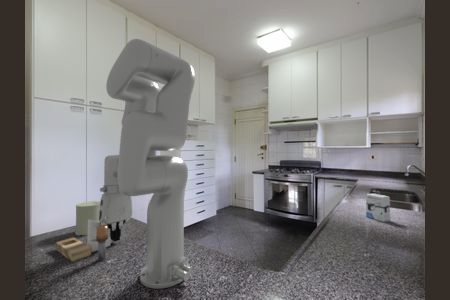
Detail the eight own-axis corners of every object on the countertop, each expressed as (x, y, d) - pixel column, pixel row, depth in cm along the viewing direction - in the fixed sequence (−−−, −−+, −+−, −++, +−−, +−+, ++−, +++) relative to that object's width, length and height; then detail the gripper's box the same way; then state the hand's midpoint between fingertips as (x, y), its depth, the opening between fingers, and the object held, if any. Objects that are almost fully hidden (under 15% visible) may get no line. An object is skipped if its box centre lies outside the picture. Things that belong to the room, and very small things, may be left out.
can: (99, 233, 81) (99, 203, 81) (71, 237, 77) (72, 206, 77) (103, 226, 89) (104, 199, 89) (79, 228, 86) (79, 201, 86)
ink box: (365, 216, 102) (365, 193, 102) (372, 215, 103) (372, 193, 104) (383, 222, 94) (382, 197, 94) (390, 221, 95) (390, 196, 95)
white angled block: (72, 246, 64) (87, 219, 67) (101, 251, 71) (114, 226, 74) (76, 249, 62) (92, 221, 65) (105, 254, 68) (119, 228, 72)
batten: (91, 254, 63) (91, 247, 63) (72, 261, 59) (72, 253, 59) (73, 243, 71) (73, 237, 71) (55, 249, 67) (55, 242, 67)
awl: (109, 259, 61) (109, 226, 61) (98, 263, 58) (99, 229, 58) (104, 256, 62) (105, 224, 63) (94, 260, 60) (94, 227, 60)
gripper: (98, 193, 64) (97, 251, 63) (140, 187, 76) (140, 235, 76) (88, 191, 68) (87, 245, 68) (130, 185, 80) (129, 231, 80)
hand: (115, 239), depth 72 cm, fingers closed
